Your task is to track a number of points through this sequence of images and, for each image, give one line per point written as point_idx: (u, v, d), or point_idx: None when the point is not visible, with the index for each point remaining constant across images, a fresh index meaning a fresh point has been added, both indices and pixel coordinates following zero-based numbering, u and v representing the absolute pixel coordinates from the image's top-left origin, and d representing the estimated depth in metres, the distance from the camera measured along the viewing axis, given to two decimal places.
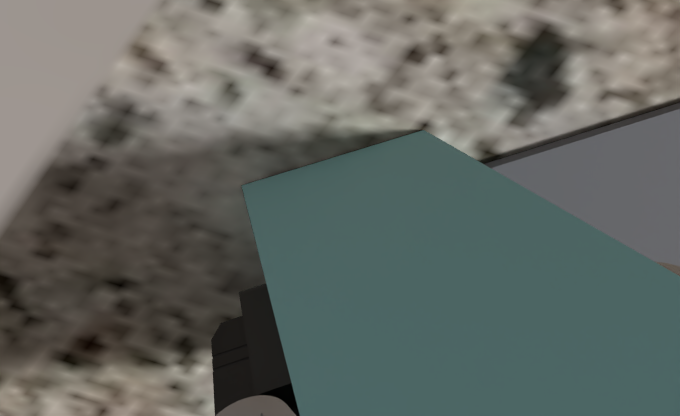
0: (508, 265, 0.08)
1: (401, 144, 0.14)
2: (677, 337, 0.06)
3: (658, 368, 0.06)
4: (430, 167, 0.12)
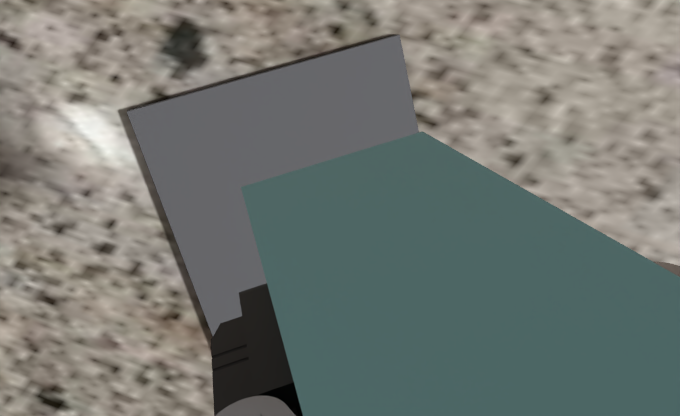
0: (508, 265, 0.08)
1: (401, 145, 0.14)
2: (677, 337, 0.06)
3: (659, 366, 0.06)
4: (429, 168, 0.12)
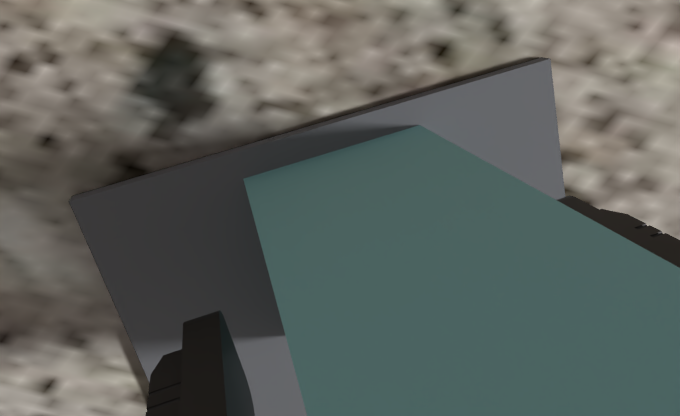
0: (496, 247, 0.08)
1: (398, 138, 0.14)
2: (649, 308, 0.06)
3: (630, 334, 0.06)
4: (425, 159, 0.12)
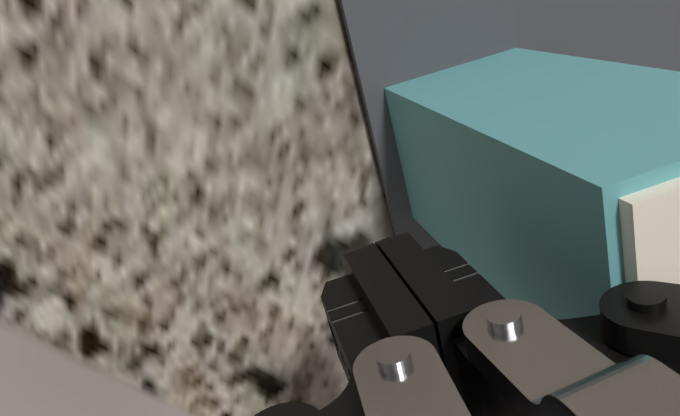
0: (492, 195, 0.13)
1: (394, 114, 0.18)
2: (546, 198, 0.10)
3: (557, 227, 0.10)
4: (417, 128, 0.16)
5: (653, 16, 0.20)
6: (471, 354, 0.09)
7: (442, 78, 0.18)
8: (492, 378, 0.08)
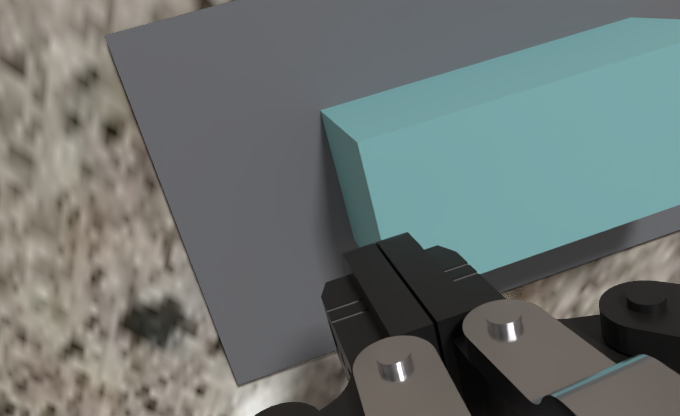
0: (618, 116, 0.15)
1: (386, 164, 0.14)
2: None
3: None
4: (462, 143, 0.15)
5: None
6: (471, 354, 0.09)
7: (384, 117, 0.16)
8: (492, 378, 0.08)
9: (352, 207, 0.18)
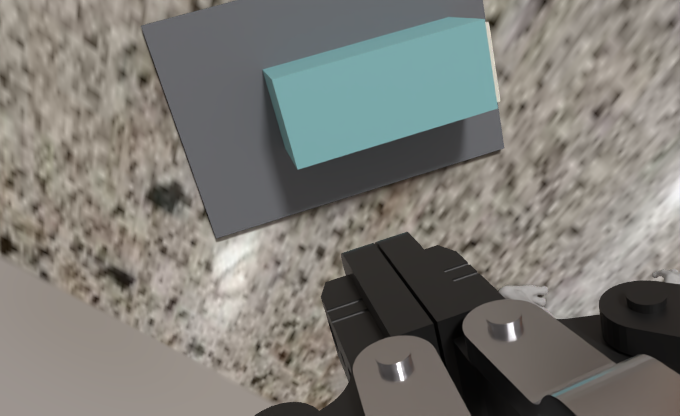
0: (415, 69, 0.29)
1: (288, 92, 0.28)
2: (455, 43, 0.29)
3: (462, 50, 0.29)
4: (328, 81, 0.28)
5: None
6: (471, 354, 0.09)
7: (291, 69, 0.29)
8: (492, 378, 0.08)
9: (280, 124, 0.32)
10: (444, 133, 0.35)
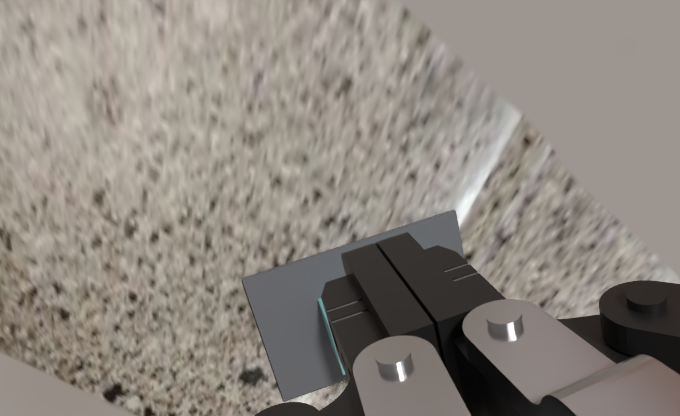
0: None
1: None
2: None
3: None
4: None
5: None
6: (471, 354, 0.09)
7: None
8: (492, 378, 0.08)
9: (329, 336, 0.48)
10: None
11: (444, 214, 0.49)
